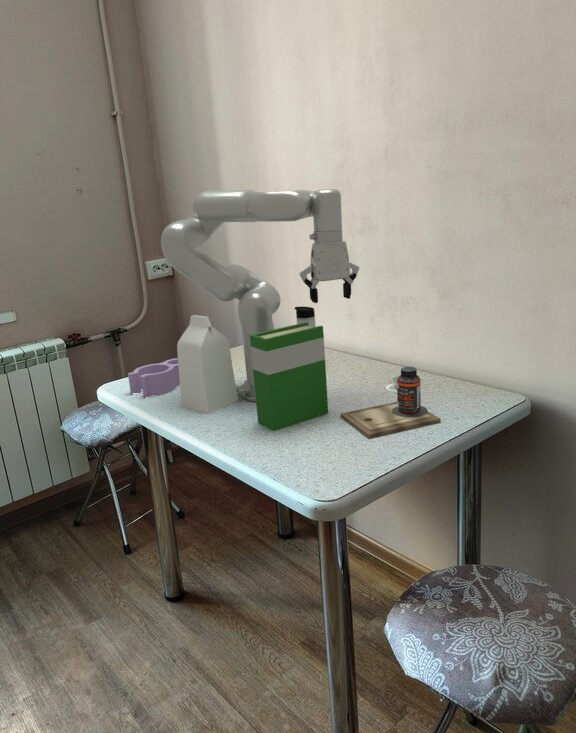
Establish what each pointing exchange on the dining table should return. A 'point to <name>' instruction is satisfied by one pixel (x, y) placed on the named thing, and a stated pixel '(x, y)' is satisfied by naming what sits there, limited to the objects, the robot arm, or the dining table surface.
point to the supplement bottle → (408, 391)
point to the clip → (155, 378)
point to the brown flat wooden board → (387, 419)
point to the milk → (205, 367)
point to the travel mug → (305, 315)
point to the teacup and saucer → (393, 383)
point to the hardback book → (289, 375)
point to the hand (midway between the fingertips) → (331, 300)
